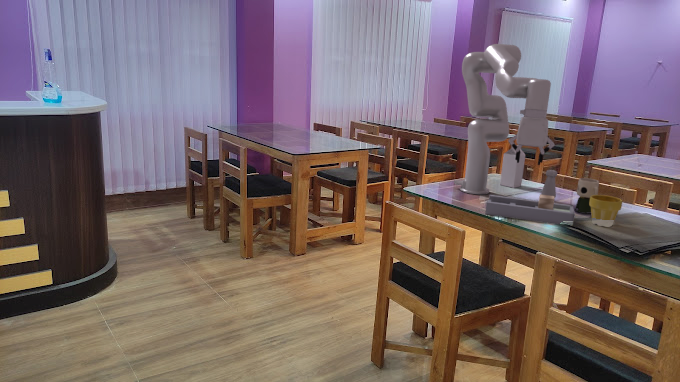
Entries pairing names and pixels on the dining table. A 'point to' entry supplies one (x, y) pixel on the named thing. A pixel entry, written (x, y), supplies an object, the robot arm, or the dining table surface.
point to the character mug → (586, 194)
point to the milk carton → (512, 169)
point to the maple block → (546, 202)
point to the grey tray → (528, 210)
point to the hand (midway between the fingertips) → (528, 163)
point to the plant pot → (604, 207)
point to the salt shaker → (550, 184)
